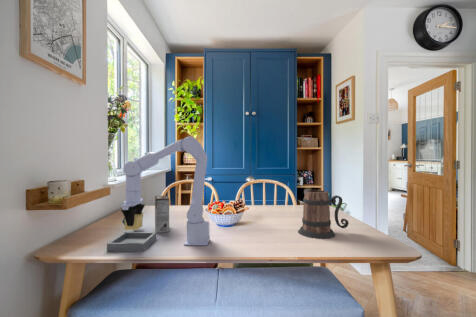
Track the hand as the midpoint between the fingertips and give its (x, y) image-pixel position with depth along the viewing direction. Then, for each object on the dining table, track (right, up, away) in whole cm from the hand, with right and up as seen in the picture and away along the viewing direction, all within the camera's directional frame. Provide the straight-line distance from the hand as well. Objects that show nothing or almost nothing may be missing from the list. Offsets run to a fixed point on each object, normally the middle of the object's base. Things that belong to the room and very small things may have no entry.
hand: (133, 223), depth 98 cm
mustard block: (0, -2, 0) cm, 2 cm away
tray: (0, -8, 0) cm, 8 cm away
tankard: (+83, -9, +15) cm, 85 cm away
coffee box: (+5, -9, +20) cm, 22 cm away
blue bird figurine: (-8, -9, +17) cm, 21 cm away
